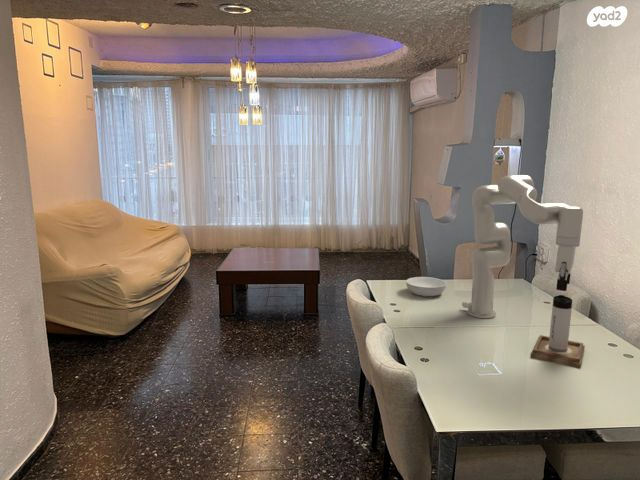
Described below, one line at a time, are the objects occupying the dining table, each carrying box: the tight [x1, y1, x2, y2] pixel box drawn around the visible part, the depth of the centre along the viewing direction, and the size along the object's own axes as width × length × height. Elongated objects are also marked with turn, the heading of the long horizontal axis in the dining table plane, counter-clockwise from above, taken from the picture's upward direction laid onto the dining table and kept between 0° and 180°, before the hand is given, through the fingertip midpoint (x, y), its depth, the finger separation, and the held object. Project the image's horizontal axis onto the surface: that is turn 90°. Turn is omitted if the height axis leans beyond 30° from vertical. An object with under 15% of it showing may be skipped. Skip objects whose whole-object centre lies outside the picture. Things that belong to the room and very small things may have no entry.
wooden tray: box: [530, 334, 586, 369], centre depth 172 cm, size 16×18×3 cm
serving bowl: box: [405, 276, 448, 297], centre depth 244 cm, size 21×21×7 cm
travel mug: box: [548, 294, 573, 352], centre depth 170 cm, size 6×7×20 cm
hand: (562, 286), depth 167 cm, fingers open, 9 cm apart
